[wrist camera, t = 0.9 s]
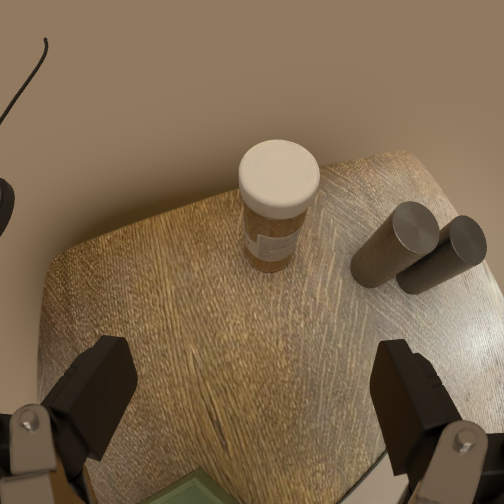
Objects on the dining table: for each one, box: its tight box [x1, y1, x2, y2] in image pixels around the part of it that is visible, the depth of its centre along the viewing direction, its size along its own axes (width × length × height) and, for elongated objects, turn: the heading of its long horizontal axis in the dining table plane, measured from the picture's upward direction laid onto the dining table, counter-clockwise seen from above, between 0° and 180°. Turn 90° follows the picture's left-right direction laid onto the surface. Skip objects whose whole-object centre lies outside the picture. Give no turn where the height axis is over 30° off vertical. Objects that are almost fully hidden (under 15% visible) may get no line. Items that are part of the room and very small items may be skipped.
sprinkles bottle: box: [239, 140, 320, 272], centre depth 22 cm, size 5×5×14 cm
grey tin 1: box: [351, 201, 440, 288], centre depth 23 cm, size 4×4×10 cm
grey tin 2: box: [396, 215, 487, 295], centre depth 23 cm, size 4×4×10 cm
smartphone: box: [338, 451, 409, 504], centre depth 20 cm, size 7×1×15 cm
